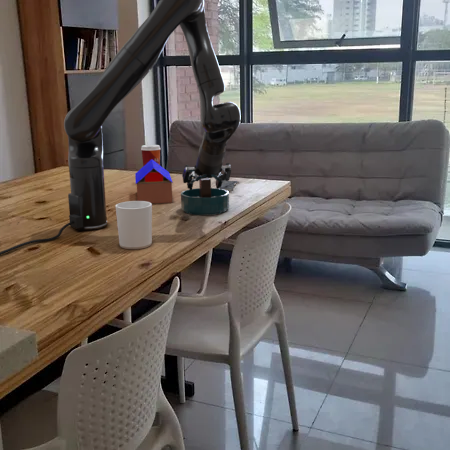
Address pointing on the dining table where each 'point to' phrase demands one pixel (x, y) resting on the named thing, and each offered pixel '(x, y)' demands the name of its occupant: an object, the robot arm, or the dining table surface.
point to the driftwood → (227, 185)
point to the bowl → (204, 202)
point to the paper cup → (150, 153)
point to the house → (153, 184)
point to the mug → (134, 224)
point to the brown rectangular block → (205, 187)
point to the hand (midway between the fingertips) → (203, 186)
